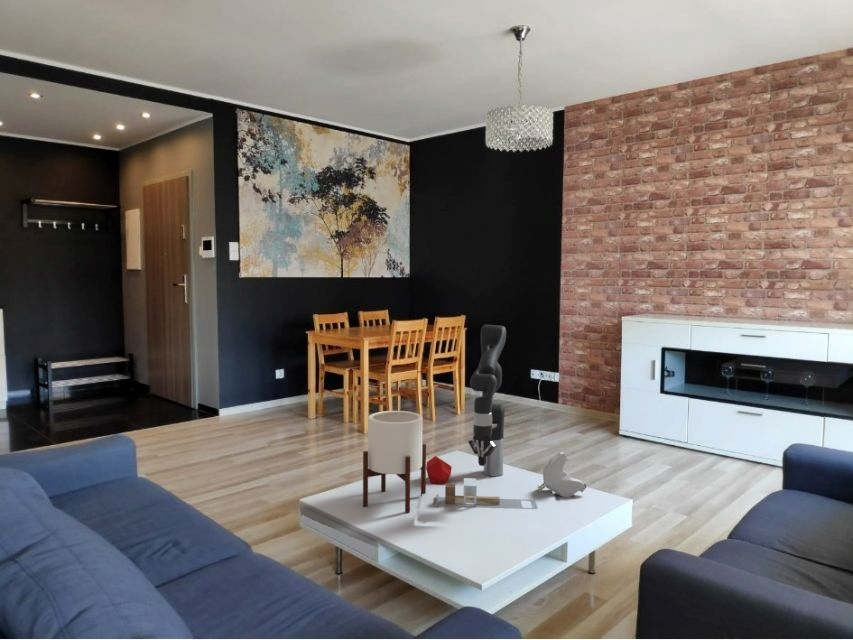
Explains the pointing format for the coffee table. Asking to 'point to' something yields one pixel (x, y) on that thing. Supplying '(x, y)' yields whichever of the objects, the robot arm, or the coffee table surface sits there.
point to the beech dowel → (478, 499)
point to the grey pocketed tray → (471, 490)
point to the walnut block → (449, 493)
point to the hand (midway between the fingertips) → (482, 465)
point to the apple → (438, 471)
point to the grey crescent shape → (560, 478)
